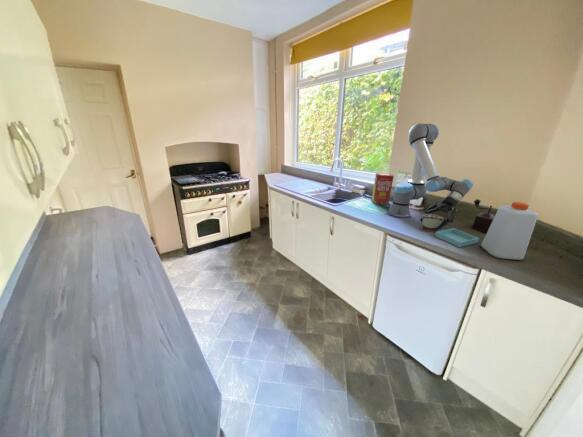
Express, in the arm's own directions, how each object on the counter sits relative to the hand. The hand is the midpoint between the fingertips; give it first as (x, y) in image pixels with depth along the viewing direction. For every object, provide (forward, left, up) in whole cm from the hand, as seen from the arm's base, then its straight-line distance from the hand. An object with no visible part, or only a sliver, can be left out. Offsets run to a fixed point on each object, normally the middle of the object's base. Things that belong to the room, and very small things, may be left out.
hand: (429, 224), depth 151 cm
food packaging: (-59, +14, -4) cm, 61 cm away
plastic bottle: (+35, +12, -4) cm, 37 cm away
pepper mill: (+9, +38, -4) cm, 39 cm away
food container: (-1, +2, -4) cm, 5 cm away
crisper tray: (+15, +5, -4) cm, 16 cm away
